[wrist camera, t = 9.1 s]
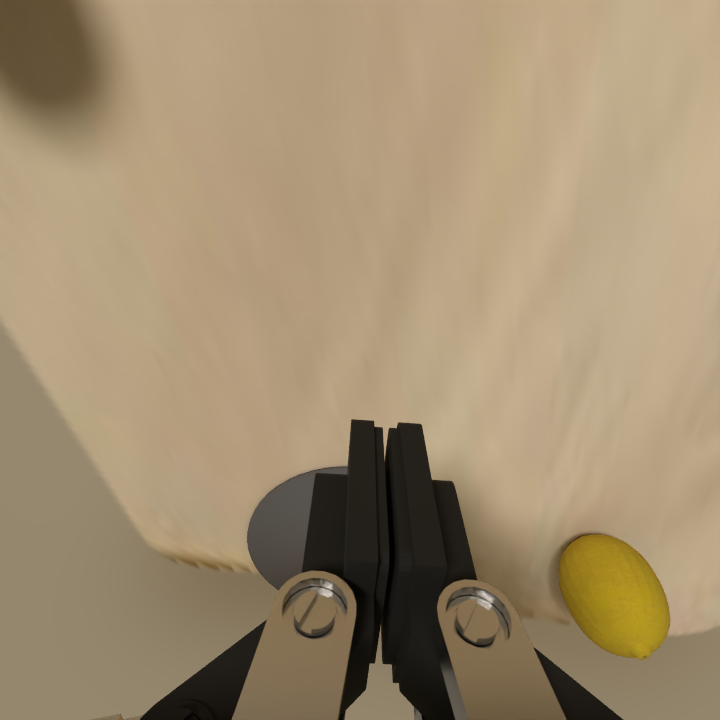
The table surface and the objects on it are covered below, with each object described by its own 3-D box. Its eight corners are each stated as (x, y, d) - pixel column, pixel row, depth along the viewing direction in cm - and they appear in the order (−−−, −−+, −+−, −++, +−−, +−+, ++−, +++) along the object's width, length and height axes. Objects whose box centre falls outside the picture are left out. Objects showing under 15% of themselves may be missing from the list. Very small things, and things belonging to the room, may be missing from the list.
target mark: (466, 473, 30) (466, 475, 29) (433, 613, 36) (434, 616, 36) (243, 459, 29) (242, 461, 29) (251, 603, 36) (250, 605, 36)
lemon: (568, 575, 34) (622, 697, 27) (526, 535, 32) (572, 654, 25) (639, 539, 32) (716, 660, 25) (599, 494, 30) (670, 611, 23)
